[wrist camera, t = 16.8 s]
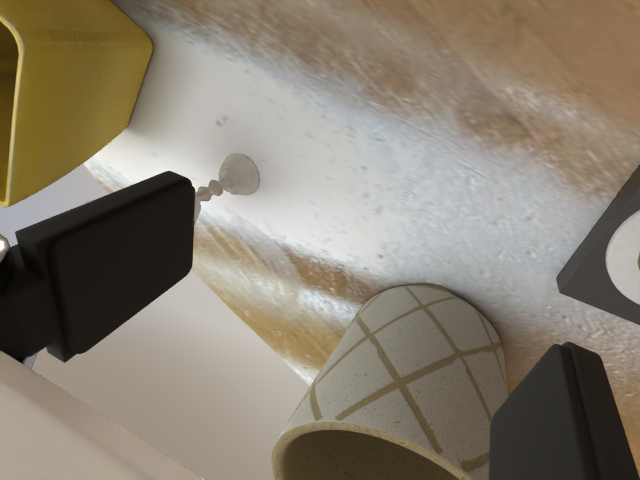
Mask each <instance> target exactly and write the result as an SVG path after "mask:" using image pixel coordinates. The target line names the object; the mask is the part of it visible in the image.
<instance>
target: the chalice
mask: <svg viewBox="0 0 640 480" xmlns="http://www.w3.org/2000/svg"><path fill="white" fill-rule="evenodd" d="M259 182H260V178H259V172H258V169H257V167H256V166H255V164H254V163H253V161H252V160H250V159H249V158H248V157H247V156H245V155H243V154H237V153H235V154H231V155H230V156H228V157H227V158H226V160H225V162H224V163H223V165H222V167H221V168H220V170H219V181H216V180H211V181H210V182H209V186H208V187H199V189H198V191H197V192H196V193H195V212H194V225H195V222H196V220H197V217H198V215H199V213H200V210H201V205H200V201H209V200H210V199H211V196H212V195H213V194H214V195H216V196H220V195H221V194H222V193H223V189H225V190H226V191H227V192H229V193H231V194H235V195H237V194H238V195H249V194H252V193H254V192H255V191H256V190H257V188H258V186H259ZM93 201H94V200H93ZM89 202H91V201H87V202H85V203H84V204H86V203H89ZM84 204H83V205H84Z"/></svg>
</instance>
